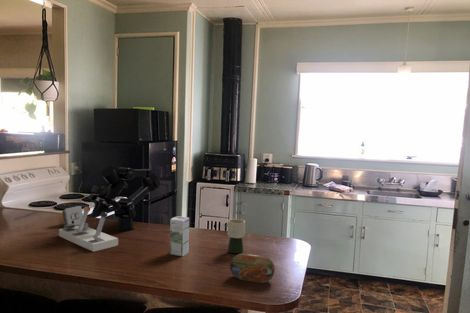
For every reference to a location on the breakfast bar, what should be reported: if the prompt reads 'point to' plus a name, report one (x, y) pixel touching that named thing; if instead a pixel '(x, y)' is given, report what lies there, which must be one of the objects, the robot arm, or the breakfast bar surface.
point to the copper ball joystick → (83, 219)
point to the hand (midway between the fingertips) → (91, 216)
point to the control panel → (88, 238)
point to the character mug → (236, 235)
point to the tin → (252, 268)
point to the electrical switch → (72, 215)
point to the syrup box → (179, 236)
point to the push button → (85, 226)
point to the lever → (100, 226)
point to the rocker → (69, 226)
